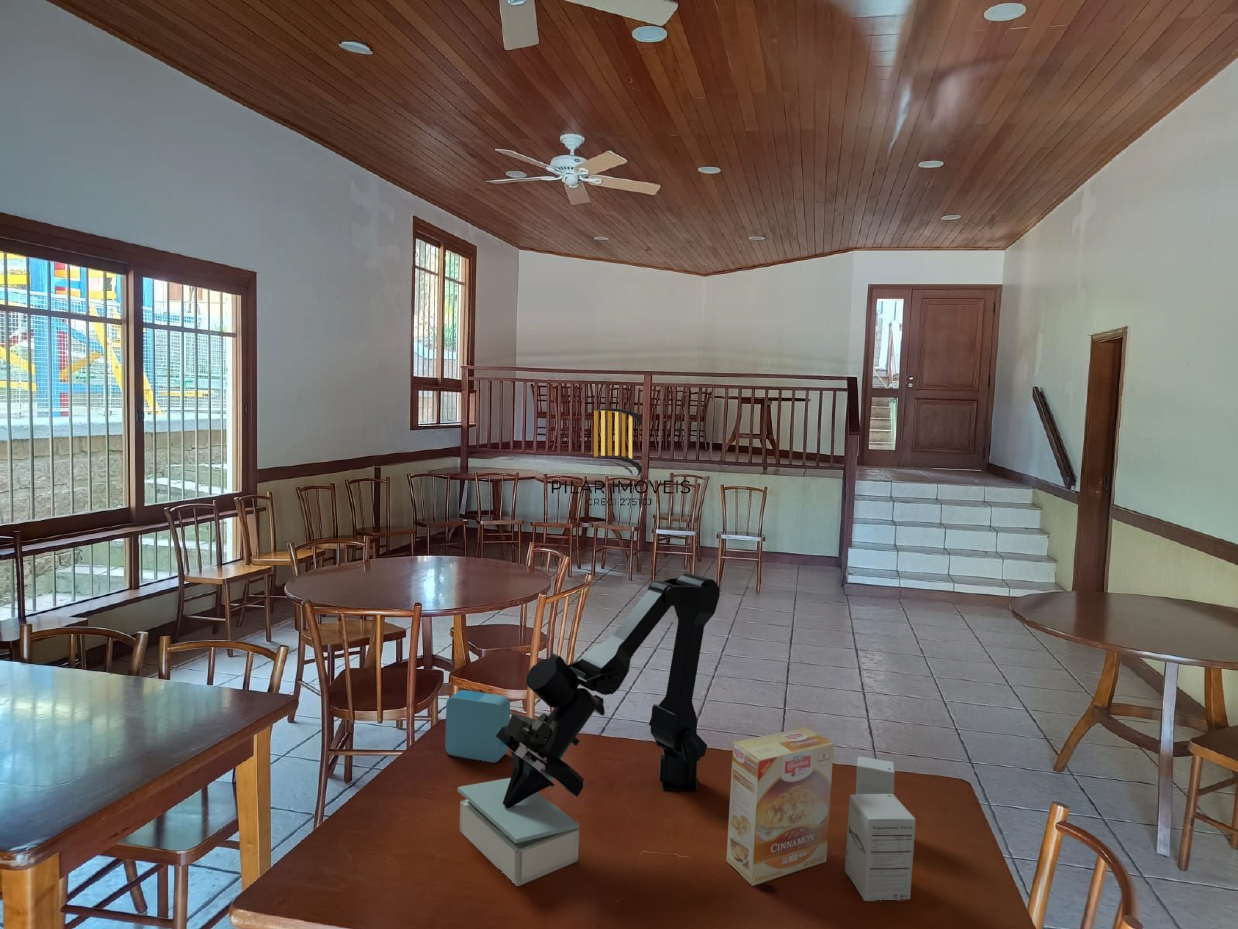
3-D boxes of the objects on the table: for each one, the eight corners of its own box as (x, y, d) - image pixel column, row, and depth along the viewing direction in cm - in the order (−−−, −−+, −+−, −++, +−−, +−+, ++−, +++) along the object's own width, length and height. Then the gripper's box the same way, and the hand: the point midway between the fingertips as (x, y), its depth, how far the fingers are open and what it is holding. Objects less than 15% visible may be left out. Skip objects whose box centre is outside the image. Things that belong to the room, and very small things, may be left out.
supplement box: (843, 871, 117) (848, 792, 116) (889, 871, 118) (894, 792, 117) (862, 903, 110) (867, 819, 109) (911, 901, 110) (917, 818, 109)
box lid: (516, 780, 131) (517, 776, 131) (578, 828, 117) (579, 824, 117) (457, 790, 124) (457, 787, 124) (515, 843, 109) (516, 839, 109)
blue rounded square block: (509, 754, 152) (510, 696, 151) (499, 764, 148) (501, 704, 147) (455, 745, 156) (456, 688, 155) (444, 754, 151) (445, 696, 150)
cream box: (517, 810, 131) (518, 782, 131) (577, 860, 117) (579, 829, 117) (459, 831, 124) (460, 801, 124) (516, 887, 110) (517, 854, 110)
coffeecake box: (752, 887, 112) (759, 760, 111) (724, 861, 119) (730, 740, 117) (829, 863, 119) (836, 742, 118) (798, 839, 125) (805, 725, 124)
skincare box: (890, 829, 130) (895, 761, 129) (891, 842, 126) (895, 772, 125) (853, 822, 132) (857, 755, 131) (852, 834, 127) (857, 766, 127)
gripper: (507, 678, 128) (445, 758, 122) (570, 715, 114) (504, 808, 108) (544, 713, 134) (488, 791, 128) (610, 752, 119) (549, 842, 113)
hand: (505, 806), depth 119 cm, fingers closed, pressing on box lid
